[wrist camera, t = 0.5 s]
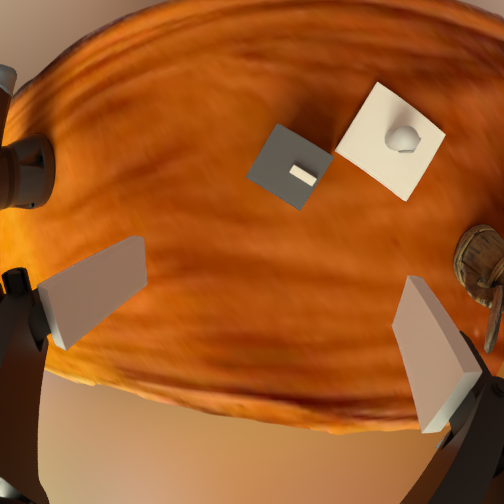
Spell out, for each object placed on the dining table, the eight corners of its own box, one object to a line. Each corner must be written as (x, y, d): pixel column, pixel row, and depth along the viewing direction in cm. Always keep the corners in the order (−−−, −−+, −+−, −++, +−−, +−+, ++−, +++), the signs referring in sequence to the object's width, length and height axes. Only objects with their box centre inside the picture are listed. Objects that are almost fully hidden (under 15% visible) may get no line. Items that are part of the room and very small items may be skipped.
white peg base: (334, 150, 29) (339, 148, 23) (374, 85, 25) (387, 69, 19) (402, 199, 29) (420, 209, 23) (440, 135, 25) (465, 132, 19)
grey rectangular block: (259, 173, 32) (243, 177, 25) (285, 130, 30) (276, 122, 23) (303, 200, 32) (299, 212, 25) (330, 157, 29) (334, 156, 22)
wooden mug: (426, 227, 29) (505, 292, 13) (501, 222, 26) (584, 271, 9) (422, 292, 32) (475, 383, 15) (494, 281, 28) (559, 349, 12)
